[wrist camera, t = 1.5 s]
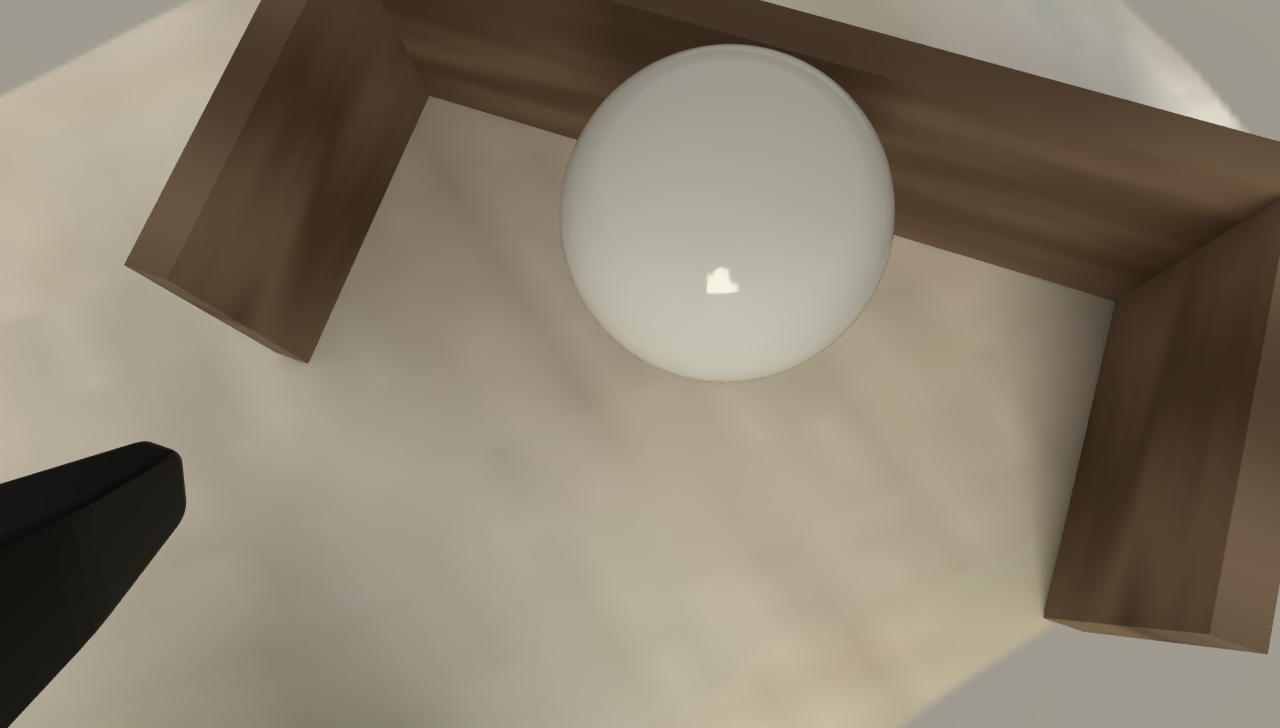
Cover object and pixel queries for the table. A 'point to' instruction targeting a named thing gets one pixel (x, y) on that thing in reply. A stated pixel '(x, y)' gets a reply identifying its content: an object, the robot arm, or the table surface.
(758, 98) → the lightbulb
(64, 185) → the table surface
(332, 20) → the open box
